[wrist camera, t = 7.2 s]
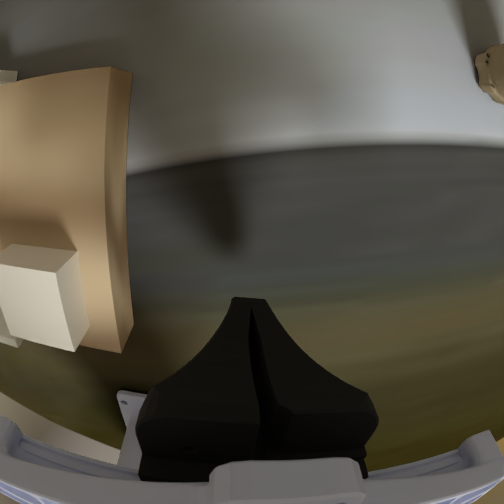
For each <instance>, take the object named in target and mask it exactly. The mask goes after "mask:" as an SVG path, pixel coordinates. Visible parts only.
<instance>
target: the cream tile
mask: <svg viewBox="0 0 504 504" xmlns="http://www.w3.org/2000/svg"><path fill="white" fill-rule="evenodd" d="M0 306H1V309H2V312H3V315H4V318H5V321H6V324H7V327H8V329H9V332H10V335H12V336H16V337H19V338H22V339H26V340H29V341H33V342H36V343H40V344H44V345H48V346H52V347H55V348H60V349H64V350H68V351H72V352H75V351H76V349H77V347H78V345H79V344H80V342H81V340H82V339H83V337H84V335H85V333H86V332H87V330H88V328H89V327H90V323H89V318H88V314H87V308H86V303H85V298H84V292H83V286H82V280H81V273H80V266H79V259H78V251H72V250H63V249H54V248H45V247H36V246H28V245H19V244H11V245H10V246H8V247H7V248H6V249H4V250H3V251H2V252H0Z"/></svg>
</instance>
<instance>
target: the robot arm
mask: <svg viewBox="0 0 504 504" xmlns="http://www.w3.org/2000/svg"><path fill="white" fill-rule="evenodd" d="M117 399H118V403H119V406H120V409H121V412H122V416H123V419H124V422H125V425H126V428H127V429H126V433H125V437H124V440H123V444H122V448H121V452H120V456H119V460H118V463H117V465H114V464H111V463H107V462H103V461H99V460H95V459H92V458H88V457H85V456H81V455H78V454H75V453H72V452H69V451H65V450H63V449H60V448H57V447H54V446H51V445H48V444H46V443H43V442H41V441H38V440H35V439H33V438H31V437H28V436H26V435H23V434H22V432H21V430H20V428H19V427H18V426H17V424H16V423H14V422H13V421H12V420H10V419H9V418H7V417H4V416H2V415H0V492H1V493H3V494H4V495H6V496H8V497H10V498H12V499H14V500H15V501H17V502H19V503H21V504H470V503H472V502H474V501H476V500H477V499H478V498H480V497H481V496H483V495H484V494H485V493H486V492H488V491H489V490H490V489H492V488H493V487H494V486H495V485H497V484H498V483H499V482H500V481H502V480H503V479H504V456H503V455H502V453H501V451H500V449H499V447H498V445H497V443H496V441H495V440H494V438H493V436H492V434H491V432H490V431H489V430H486V431H484V432H481V433H478V434H476V435H473V436H471V437H469V438H468V439H466V440H465V441H464V442H463V443H462V444H461V445H460V447H459V448H458V449H456V450H453V451H450V452H447V453H444V454H441V455H438V456H434V457H431V458H428V459H424V460H420V461H417V462H413V463H409V464H405V465H401V466H396V467H392V468H387V469H382V470H377V471H372V472H367V468H366V465H365V461H364V458H365V457H366V454H367V453H366V450H365V447H364V445H365V444H366V442H367V441H368V440H369V438H370V437H371V436H372V434H373V433H374V431H375V430H376V428H377V426H378V422H379V418H378V415H377V413H376V410H375V407H374V405H373V403H372V401H371V399H370V397H369V395H368V393H366V392H364V391H362V390H360V389H357V388H355V387H353V386H351V385H349V384H347V383H346V382H344V381H342V380H341V379H339V378H337V377H336V376H334V375H333V374H331V373H330V372H328V371H327V370H325V369H324V368H323V367H321V366H320V365H319V364H317V363H316V362H315V361H314V360H313V359H311V358H310V357H309V356H308V355H307V354H306V353H305V352H304V351H303V350H302V349H301V348H300V347H299V346H298V345H297V344H296V343H295V342H294V340H293V339H292V338H291V337H290V336H289V334H288V333H287V332H286V331H285V329H284V328H283V326H282V325H281V324H280V322H279V321H278V319H277V318H276V316H275V315H274V313H273V312H272V310H271V308H270V307H269V305H268V303H267V301H266V300H265V299H256V298H243V297H234V298H232V300H231V305H230V307H229V310H228V312H227V314H226V316H225V318H224V320H223V321H222V323H221V325H220V326H219V328H218V329H217V331H216V332H215V334H214V335H213V337H212V338H211V339H210V340H209V342H208V343H207V344H206V345H205V346H204V348H203V349H202V350H201V351H200V352H199V353H198V354H197V355H196V356H195V357H194V358H193V359H192V360H191V361H189V362H188V363H187V364H186V365H185V366H183V367H182V368H181V369H179V370H178V371H177V372H176V373H174V374H173V375H171V376H170V377H168V378H167V379H165V380H163V381H161V382H160V383H158V384H156V385H155V386H153V387H152V388H151V389H150V391H149V393H148V394H141V393H135V392H129V391H124V390H120V391H118V393H117Z"/></svg>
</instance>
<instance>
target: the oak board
mask: <svg viewBox="0 0 504 504" xmlns="http://www.w3.org/2000/svg"><path fill="white" fill-rule="evenodd" d="M132 76H133V74H132V73H129V72H126V71H123V70H121V69H118V68H115V67H112V66H109V67H99V68H90V69H81V70H74V71H67V72H61V73H55V74H49V75H44V76H39V77H34V78H29V79H24V80H20V81H16V82H12V83H8V84H4V85H0V252H2V251H3V250H4V249H6V248H7V247H8V246H10V245H11V244H19V245H28V246H36V247H45V248H54V249H63V250H72V251H78V259H79V266H80V273H81V280H82V286H83V292H84V298H85V303H86V308H87V314H88V318H89V323H90V327H89V328H88V330H87V332H86V333H85V335H84V337H83V339H82V340H81V342H80V344H79V345H81V346H86V347H91V348H96V349H101V350H106V351H112V352H118V353H122V351H123V348H124V346H125V344H126V341H127V339H128V337H129V334H130V332H131V330H132V327H133V325H134V320H133V311H132V302H131V291H130V280H129V266H128V250H127V226H126V159H127V135H128V119H129V106H130V95H131V85H132Z"/></svg>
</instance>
